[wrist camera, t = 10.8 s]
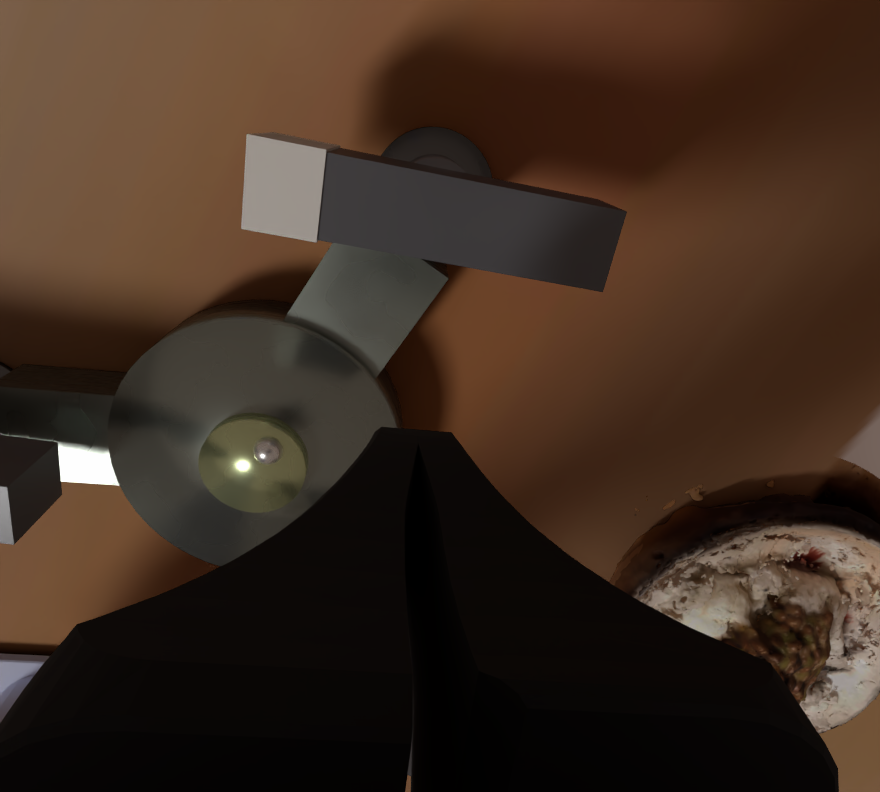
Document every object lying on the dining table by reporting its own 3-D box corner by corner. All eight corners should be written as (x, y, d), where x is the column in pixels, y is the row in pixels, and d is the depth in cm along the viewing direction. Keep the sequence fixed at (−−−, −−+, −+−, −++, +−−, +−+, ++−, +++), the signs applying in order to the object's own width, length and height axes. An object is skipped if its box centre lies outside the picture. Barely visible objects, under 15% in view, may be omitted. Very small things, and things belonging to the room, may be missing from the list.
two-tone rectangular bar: (575, 181, 18) (630, 202, 13) (555, 257, 19) (601, 301, 14) (293, 125, 17) (247, 126, 12) (286, 206, 18) (240, 235, 13)
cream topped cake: (982, 466, 23) (1092, 533, 20) (836, 736, 29) (899, 828, 26) (603, 433, 22) (641, 498, 18) (532, 721, 28) (549, 814, 24)
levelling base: (432, 652, 26) (434, 721, 23) (-15, 629, 24) (-75, 699, 21) (500, 134, 18) (517, 136, 15) (-160, 59, 16) (-287, 45, 13)
